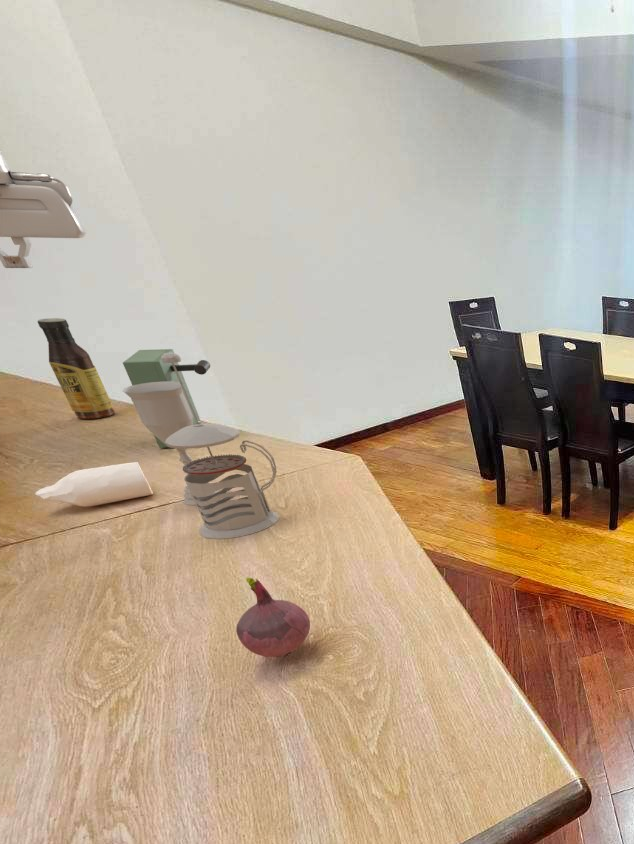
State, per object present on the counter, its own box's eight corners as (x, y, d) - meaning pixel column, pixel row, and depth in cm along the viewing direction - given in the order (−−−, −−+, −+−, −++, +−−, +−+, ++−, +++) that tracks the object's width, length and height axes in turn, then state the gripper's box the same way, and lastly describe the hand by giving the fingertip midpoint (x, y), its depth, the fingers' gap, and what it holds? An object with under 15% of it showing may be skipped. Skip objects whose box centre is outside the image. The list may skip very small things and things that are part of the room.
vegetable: (308, 631, 67) (277, 556, 62) (329, 654, 64) (299, 577, 59) (243, 656, 63) (206, 578, 58) (263, 683, 60) (225, 602, 55)
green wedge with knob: (122, 362, 105) (197, 360, 110) (139, 349, 114) (208, 348, 119) (159, 448, 113) (228, 442, 118) (172, 430, 122) (236, 425, 127)
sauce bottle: (69, 418, 126) (16, 320, 116) (102, 410, 131) (55, 316, 122) (92, 421, 125) (41, 322, 115) (125, 413, 130) (79, 318, 120)
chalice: (173, 496, 96) (120, 385, 87) (225, 486, 100) (180, 379, 91) (178, 511, 91) (124, 396, 82) (233, 500, 96) (186, 389, 87)
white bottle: (47, 507, 91) (27, 473, 88) (150, 487, 98) (135, 456, 96) (47, 520, 87) (26, 485, 84) (155, 499, 95) (139, 466, 92)
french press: (206, 515, 91) (131, 347, 78) (297, 503, 95) (239, 343, 83) (190, 543, 83) (104, 362, 71) (289, 529, 88) (224, 357, 76)
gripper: (68, 175, 98) (108, 266, 105) (-119, 165, 89) (-61, 266, 96) (54, 174, 94) (97, 269, 101) (-144, 163, 84) (-81, 269, 91)
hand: (19, 267), depth 98 cm, fingers closed
